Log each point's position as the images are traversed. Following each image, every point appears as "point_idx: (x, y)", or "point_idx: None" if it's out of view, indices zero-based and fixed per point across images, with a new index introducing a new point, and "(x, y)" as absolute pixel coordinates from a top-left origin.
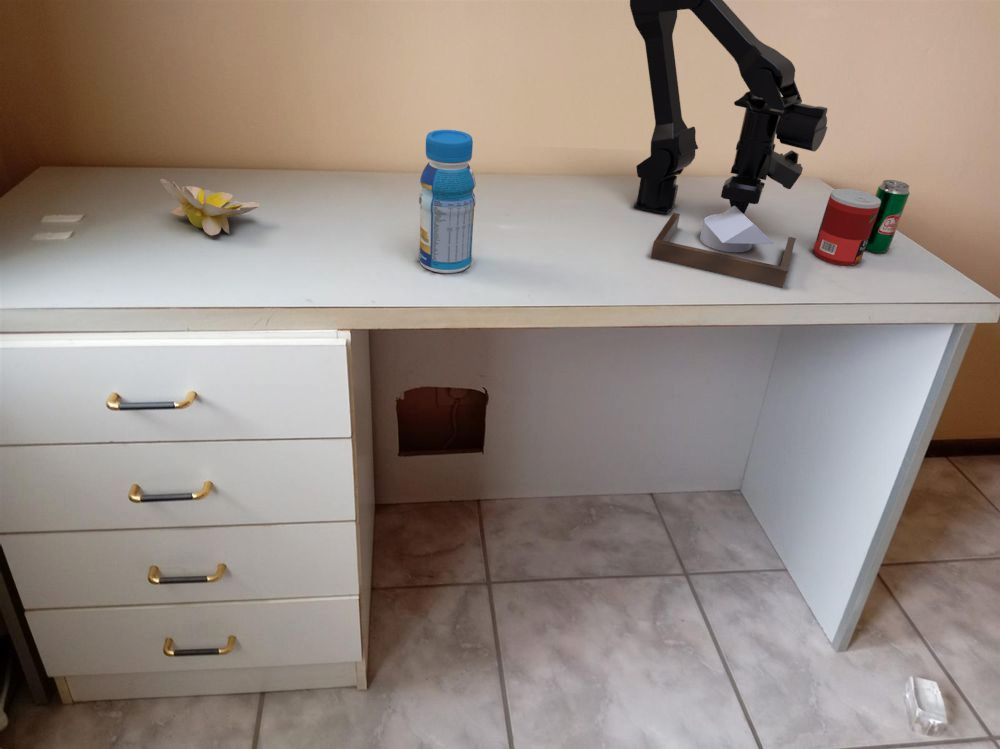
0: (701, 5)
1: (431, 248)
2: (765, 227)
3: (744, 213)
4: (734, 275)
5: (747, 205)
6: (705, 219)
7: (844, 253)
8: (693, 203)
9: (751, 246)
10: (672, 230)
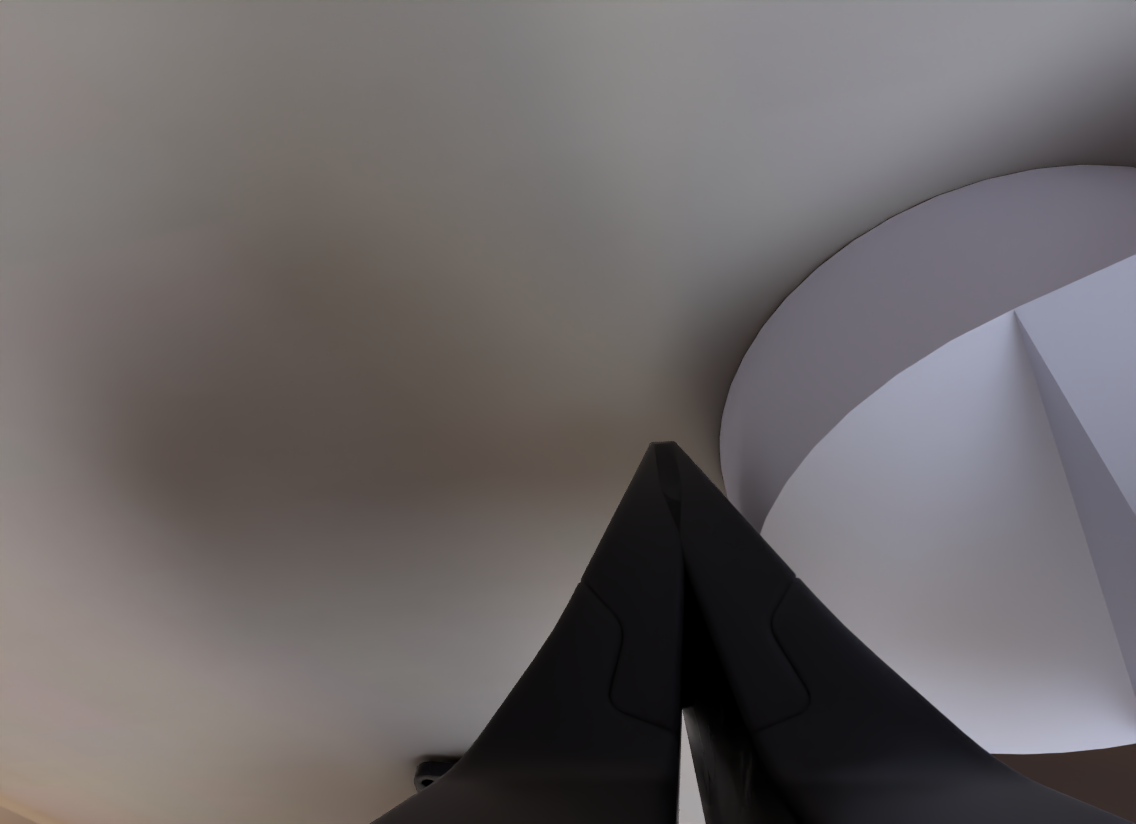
0: None
1: None
2: (271, 137)
3: (743, 518)
4: None
5: (847, 636)
6: (1021, 747)
7: None
8: (278, 689)
9: (1104, 169)
10: (1097, 787)
